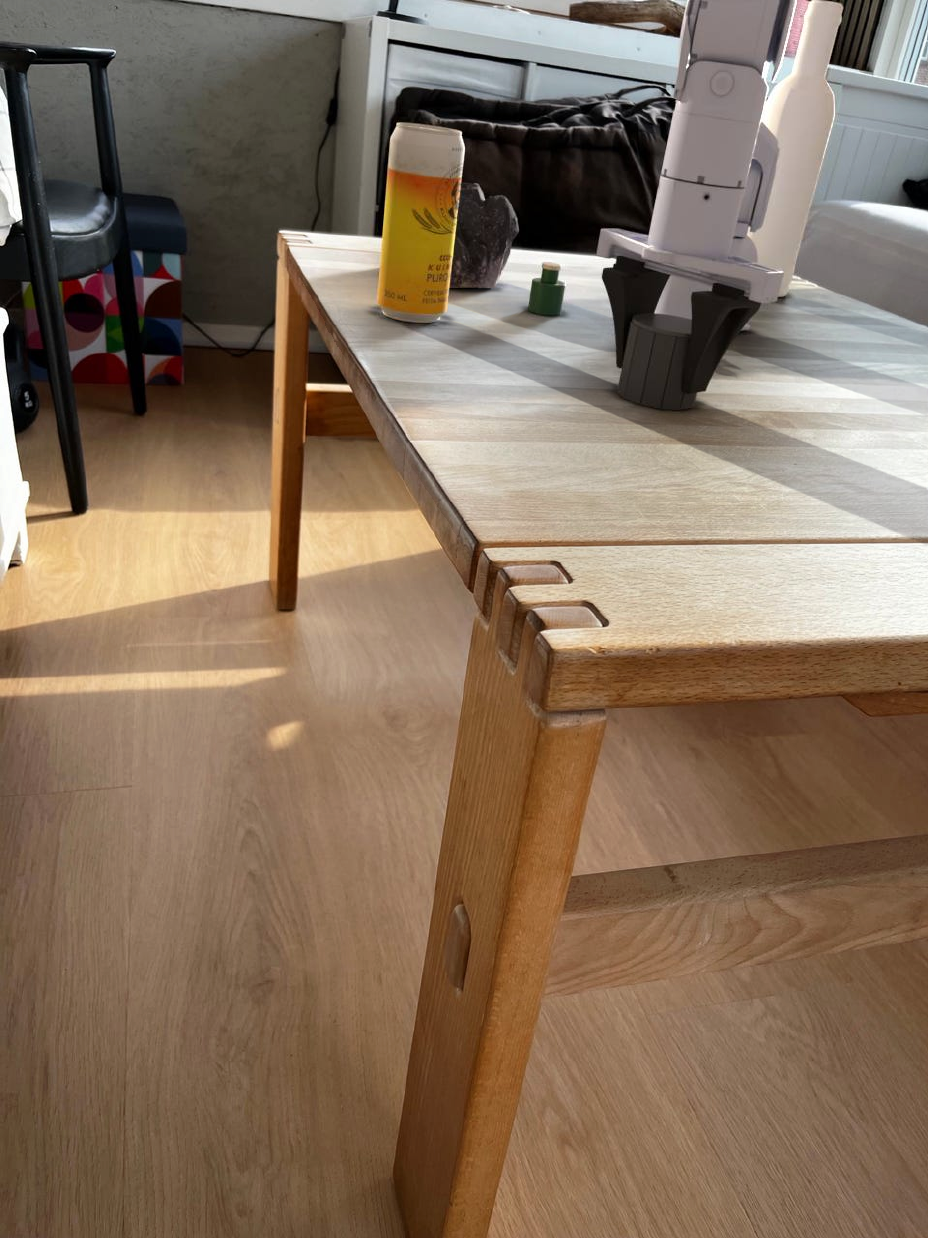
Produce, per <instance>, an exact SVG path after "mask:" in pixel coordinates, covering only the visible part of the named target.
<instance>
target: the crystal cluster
mask: <svg viewBox="0 0 928 1238" xmlns="http://www.w3.org/2000/svg"><path fill="white" fill-rule="evenodd" d="M519 230H520V229H519V223H518V217H517V215H516V212H515V210H514V207H513V206H512V204H511V202H510V201H509V199H508V198H507V197H506V196H505V195H500V194H497V195H494V196H492V195H490V196H489V197H487V198H486V199H485V195H484V191H483V190H482V189H481V187H480V184H479V183H476V182H475V183H471V182H461V188H460V196H459V205H458V214H457V223H456V232H455V240H454V249H453V258H452V267H451V276H450V285H449V289H450V288H451V289H467V288H469V289H476V288H478V289H495V288H496V285H497V284H498V282H499V280H500V278H501V275H502V271H503V270H504V269H505V267H506V264H507V263H508V260H509V258H510V256H511V252H512V243H513V241H514V240H515V238H516V237H517V236H518V233H519V232H520V231H519Z"/></svg>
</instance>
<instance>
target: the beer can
mask: <svg viewBox="0 0 928 1238" xmlns="http://www.w3.org/2000/svg"><path fill="white" fill-rule="evenodd" d="M462 135H463V132H462V131H461V130H458V129H453V128H449V127H443V126H437V125H430V124H423V123H415V122H414V123H413V122H396V126H395V128H394V130H393V132H392V134H391V136H390V139H389V149H388V150H389V151H388V163H387V173H386V174H387V175H386V187H385V198H384V199H385V200H384V212H383V213H384V214H383V226H382V238H381V251H380V263H379V275H378V285H377V286H378V287H377V298H376V303H377V305H378V307H380V309H381V311H382V314H383V315H384V316H386V317H387V318H390V319H393V320H397V321H401V322H407V323H416V324H428V323H429V324H430V323H431V324H432V323H436V322H438V321H440V318H441V316H443V315H444V314H446V312H447V310H448V302H449V292H450V288H449V285H450V276H451V267H452V258H453V249H454V240H455V232H456V223H457V214H458V205H459V196H460V188H461V183H462V180H463V179H462V177H463V170H464V161H465V151H466V147H465V143H464V139H463V136H462Z"/></svg>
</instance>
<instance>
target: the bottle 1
mask: <svg viewBox="0 0 928 1238" xmlns="http://www.w3.org/2000/svg"><path fill="white" fill-rule="evenodd" d="M541 268H542V269H541V276H540V277H534V278H532V280H531V285H530V292H529V299H528V304H527V310H528V311H529V312H531V313H532V314H533V313H534V314H536V315H541V316H547V317H548V316H551V317H557V316H561V314H562V310H563V304H564V297H565V291H566V286H567V285H566V283H565V282H563V281H561V280H559V276H560V271H561V270H562V265H561V264H560V263H556V262H550V261H543V262H542V263H541Z"/></svg>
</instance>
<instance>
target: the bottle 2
mask: <svg viewBox="0 0 928 1238" xmlns="http://www.w3.org/2000/svg"><path fill="white" fill-rule="evenodd" d="M843 10H844V6H843V4H842V3H841V2H835V1H827V0H810V1H809V2H808V5H807V9H806V11H805V13H804V15H803V26H802V29H801V33H800V37H799V41H798V46H797V50H796V54H795V58H794V62H793V66H792V70H791V73H790V74H789V75H788V76H786V77H785V78H784V79H783V80H781V81H780V82H779V83H778V84H776V85H775V86H774V88H773V89H772V91H771V93H770V94H769V96H768V97H767V99H766V102H765V106H764V111H763V115H762V119H761V121H762V122H763V123H764V124H765V125H766V126H767V128H768V129H769V130H770V131H771V132H772V133H773V135H774V136H775V137H776V138H777V140H778V147H779V149H780V151H779V155H778V160H777V164H776V167H777V169H776V173H775V178H774V182H773V186H772V190H771V194H770V198H769V202H768V206H767V210H766V214H765V218H764V222H763V225H762V227H761V228H760V229H758V230H757V231H756V232H750V228H751V227H749V228H748V232H747V236H749V237H750V238H751V239H752V241H753V242H754V244H755V246H756V250H757V255H758V264H759V265H762V266H765V267H768V268H771V269H774V270H778V271H782V272H784V275H783V279H782V283H781V287H780V290H779V294H778V298H783V297H785V296H786V295H788V292H789V288H790V285H791V283H792V281H793V277H794V273H795V267H796V263H797V258H798V255H799V252H800V248H801V244H802V241H803V236H804V233H805V229H806V225H807V221H808V218H809V214H810V210H811V207H812V204H813V199H814V196H815V192H816V187H817V185H818V180H819V176H820V173H821V170H822V166H823V161H824V158H825V153H826V152H827V151H826V150H827V146H828V143H829V139H830V136H831V132H832V129H833V124H834V121H835V117H836V102H835V101H836V100H835V93H834V91H833V90H832V88H831V87H830V85H829V83H828V81H827V79H826V75H827V72H828V68H829V64H830V60H831V56H832V53H833V49H834V45H835V41H836V37H837V33H838V29H839V26H840V25H841V23H842V20H843V17H842V13H843ZM752 158H753V157H752Z"/></svg>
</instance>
